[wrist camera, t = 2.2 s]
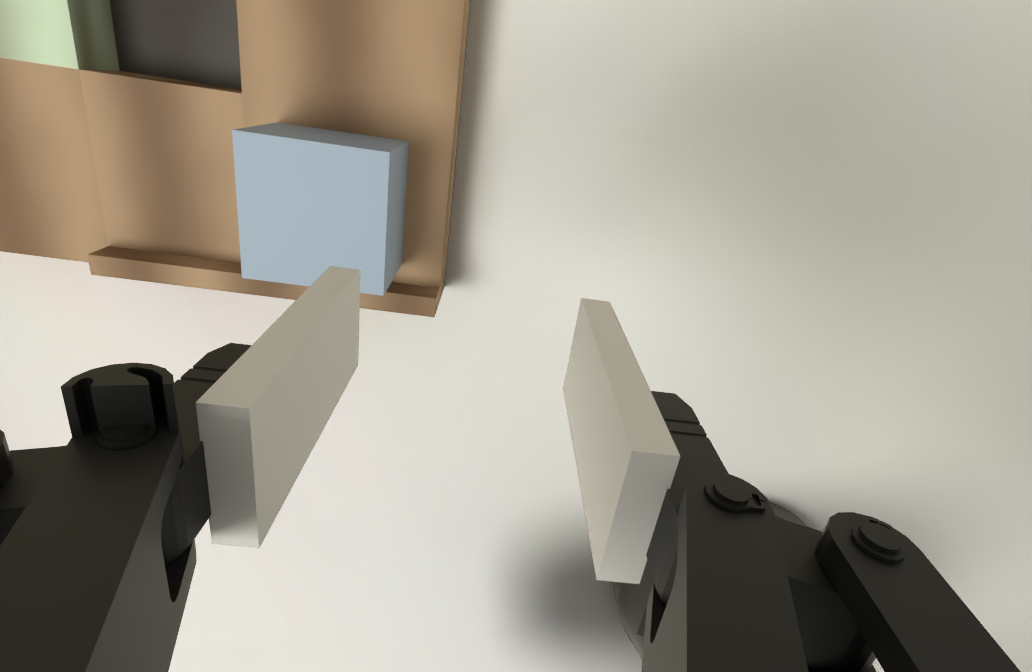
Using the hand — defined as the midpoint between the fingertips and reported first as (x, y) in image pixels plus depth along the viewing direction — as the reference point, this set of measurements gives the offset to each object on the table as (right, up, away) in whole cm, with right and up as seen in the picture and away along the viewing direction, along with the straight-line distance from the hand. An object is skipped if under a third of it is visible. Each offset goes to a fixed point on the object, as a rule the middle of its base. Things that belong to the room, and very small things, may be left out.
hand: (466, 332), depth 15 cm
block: (-7, +7, +12) cm, 16 cm away
